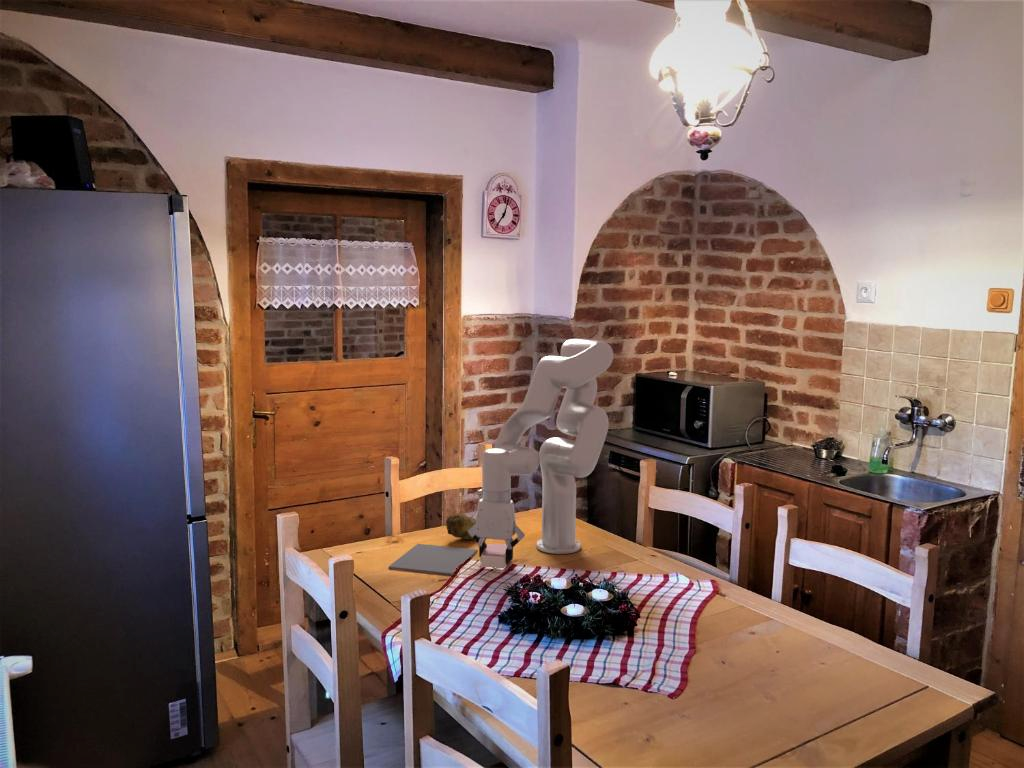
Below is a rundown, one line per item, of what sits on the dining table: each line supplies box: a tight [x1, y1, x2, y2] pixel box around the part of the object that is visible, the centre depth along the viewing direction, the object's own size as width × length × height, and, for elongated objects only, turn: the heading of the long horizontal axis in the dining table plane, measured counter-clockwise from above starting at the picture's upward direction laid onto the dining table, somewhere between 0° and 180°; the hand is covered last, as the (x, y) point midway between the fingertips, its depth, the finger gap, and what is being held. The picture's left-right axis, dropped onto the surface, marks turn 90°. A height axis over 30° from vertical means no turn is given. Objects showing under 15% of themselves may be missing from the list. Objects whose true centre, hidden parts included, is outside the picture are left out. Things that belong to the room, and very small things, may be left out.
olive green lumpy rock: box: [445, 513, 476, 541], centre depth 242 cm, size 8×13×8 cm, turn 123°
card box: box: [480, 543, 507, 568], centre depth 221 cm, size 10×6×4 cm, turn 169°
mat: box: [388, 543, 478, 576], centre depth 224 cm, size 20×18×1 cm
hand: (496, 560), depth 221 cm, fingers closed on card box, 6 cm apart
